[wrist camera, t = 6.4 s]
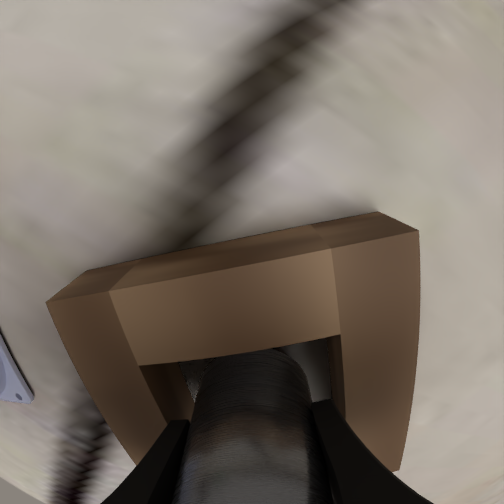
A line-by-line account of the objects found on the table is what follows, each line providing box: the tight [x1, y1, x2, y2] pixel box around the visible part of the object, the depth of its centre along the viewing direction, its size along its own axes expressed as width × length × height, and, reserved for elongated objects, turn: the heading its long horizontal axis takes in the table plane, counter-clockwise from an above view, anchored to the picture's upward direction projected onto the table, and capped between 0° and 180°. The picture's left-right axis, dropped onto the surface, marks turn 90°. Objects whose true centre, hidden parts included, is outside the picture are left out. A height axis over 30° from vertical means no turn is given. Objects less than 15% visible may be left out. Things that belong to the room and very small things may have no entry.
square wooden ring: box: [46, 212, 420, 472], centre depth 11 cm, size 11×11×3 cm
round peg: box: [172, 349, 334, 504], centre depth 7 cm, size 4×4×8 cm
